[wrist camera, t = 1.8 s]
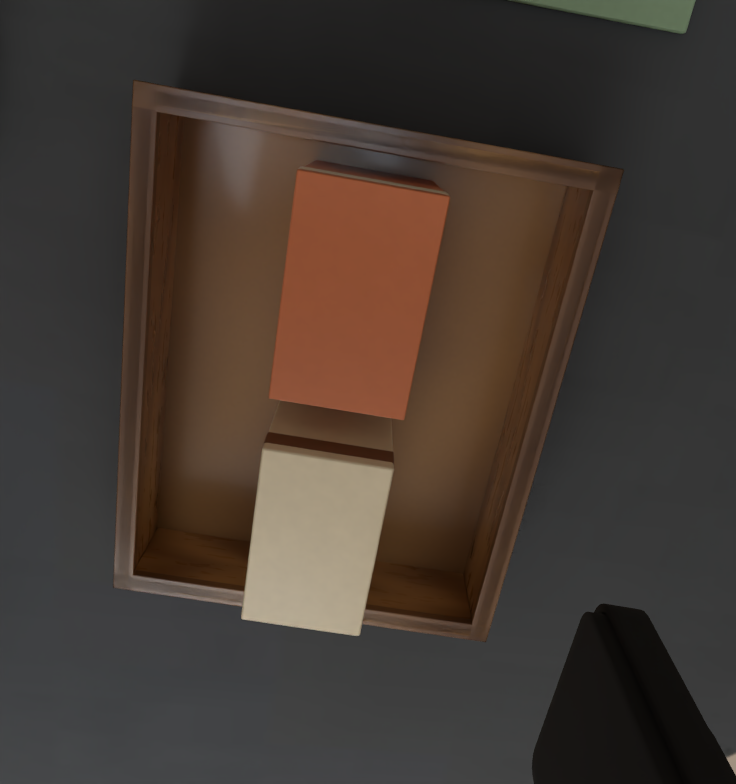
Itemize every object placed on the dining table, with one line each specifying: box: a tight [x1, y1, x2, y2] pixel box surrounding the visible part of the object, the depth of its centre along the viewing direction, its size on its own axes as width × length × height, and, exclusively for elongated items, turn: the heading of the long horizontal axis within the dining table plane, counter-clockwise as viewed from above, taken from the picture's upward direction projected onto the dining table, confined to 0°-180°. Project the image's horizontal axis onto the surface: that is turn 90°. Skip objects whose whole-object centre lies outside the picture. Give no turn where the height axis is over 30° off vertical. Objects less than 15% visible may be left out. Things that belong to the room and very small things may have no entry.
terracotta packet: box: [269, 160, 450, 420], centre depth 26 cm, size 5×8×7 cm, turn 170°
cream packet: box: [241, 400, 394, 636], centre depth 30 cm, size 5×8×7 cm, turn 170°
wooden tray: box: [113, 80, 624, 642], centre depth 30 cm, size 18×22×4 cm
